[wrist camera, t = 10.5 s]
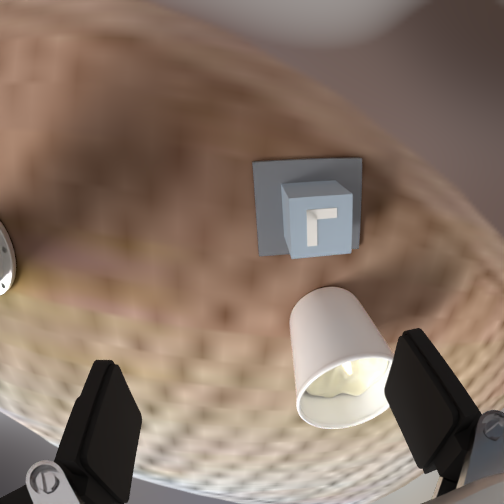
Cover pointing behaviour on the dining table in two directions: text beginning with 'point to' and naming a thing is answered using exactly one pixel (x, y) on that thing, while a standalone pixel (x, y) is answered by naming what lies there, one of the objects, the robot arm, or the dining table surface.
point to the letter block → (317, 218)
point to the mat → (296, 171)
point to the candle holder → (337, 360)
